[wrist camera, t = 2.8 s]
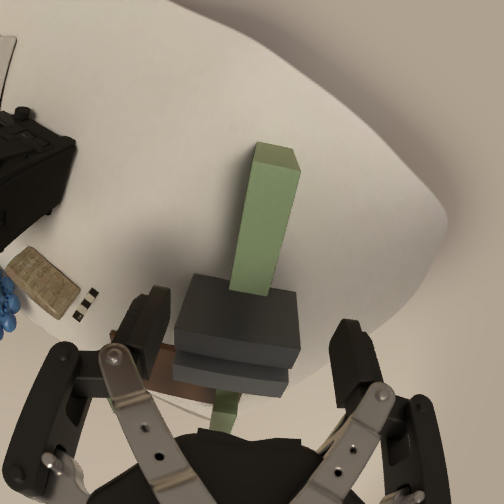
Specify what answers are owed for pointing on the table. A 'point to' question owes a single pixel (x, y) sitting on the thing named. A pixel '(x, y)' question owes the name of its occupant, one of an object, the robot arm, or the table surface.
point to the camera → (29, 172)
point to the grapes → (7, 305)
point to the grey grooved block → (236, 338)
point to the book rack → (191, 390)
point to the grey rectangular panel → (5, 56)
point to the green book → (264, 218)
